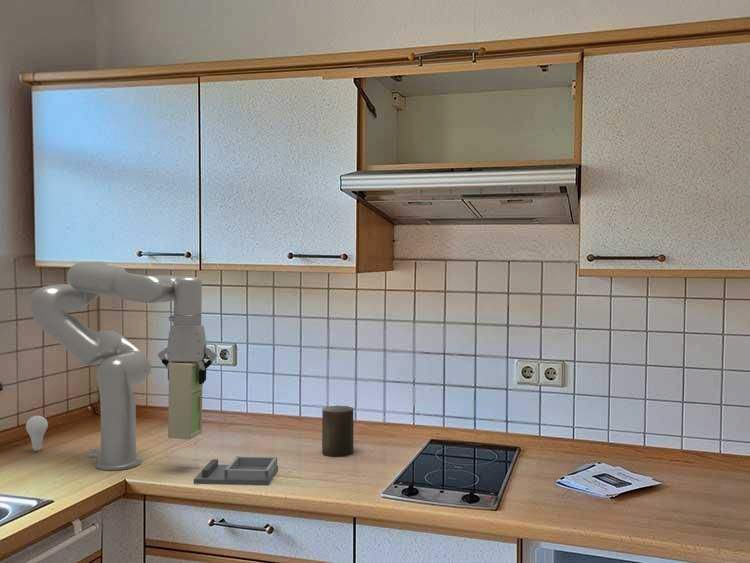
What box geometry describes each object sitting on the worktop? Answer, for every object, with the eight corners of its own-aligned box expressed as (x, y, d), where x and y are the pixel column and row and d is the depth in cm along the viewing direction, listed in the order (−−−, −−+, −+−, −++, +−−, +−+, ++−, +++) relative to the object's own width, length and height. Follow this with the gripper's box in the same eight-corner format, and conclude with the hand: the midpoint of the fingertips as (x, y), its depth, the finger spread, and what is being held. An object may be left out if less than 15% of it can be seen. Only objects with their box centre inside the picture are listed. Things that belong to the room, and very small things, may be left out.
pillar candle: (350, 457, 208) (350, 407, 208) (318, 456, 210) (318, 406, 209) (356, 449, 218) (356, 401, 218) (325, 447, 219) (325, 400, 219)
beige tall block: (192, 440, 191) (192, 364, 191) (167, 438, 193) (168, 363, 192) (204, 432, 199) (205, 360, 198) (181, 431, 201) (181, 358, 200)
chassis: (193, 483, 184) (193, 469, 184) (208, 468, 198) (208, 455, 197) (268, 485, 183) (268, 471, 183) (278, 469, 196) (278, 456, 196)
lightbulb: (49, 447, 219) (48, 413, 218) (46, 452, 213) (46, 417, 213) (27, 449, 217) (27, 414, 217) (24, 454, 211) (24, 418, 211)
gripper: (152, 321, 191) (151, 384, 192) (214, 322, 191) (213, 386, 191) (161, 318, 199) (161, 379, 200) (221, 320, 198) (221, 381, 199)
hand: (187, 382), depth 195 cm, fingers closed on beige tall block, 7 cm apart
